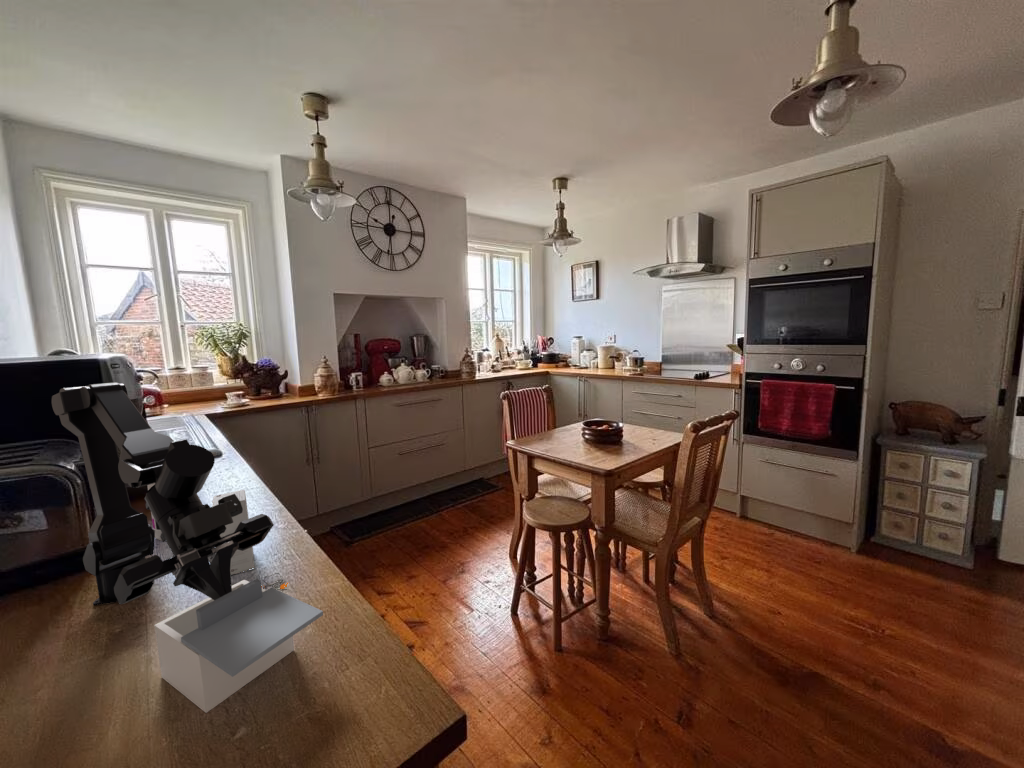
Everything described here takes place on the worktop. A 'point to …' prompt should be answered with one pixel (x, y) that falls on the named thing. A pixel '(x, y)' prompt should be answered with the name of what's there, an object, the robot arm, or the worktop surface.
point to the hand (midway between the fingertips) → (228, 603)
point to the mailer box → (204, 661)
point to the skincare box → (240, 558)
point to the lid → (247, 625)
